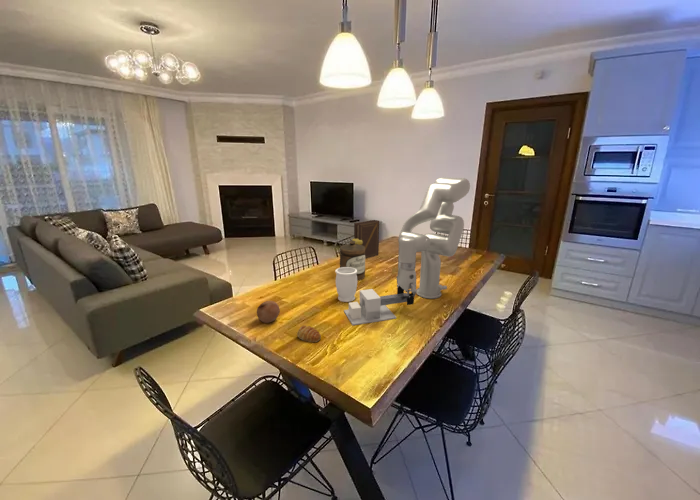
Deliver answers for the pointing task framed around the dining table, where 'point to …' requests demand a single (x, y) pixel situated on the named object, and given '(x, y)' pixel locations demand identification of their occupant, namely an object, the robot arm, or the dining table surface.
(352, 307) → the block
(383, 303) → the shaft
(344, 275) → the jar
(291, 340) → the dining table surface
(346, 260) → the wooden container
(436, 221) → the robot arm
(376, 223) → the book
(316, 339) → the pastry
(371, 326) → the dining table surface
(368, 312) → the bearing block
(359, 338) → the dining table surface
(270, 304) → the onion
